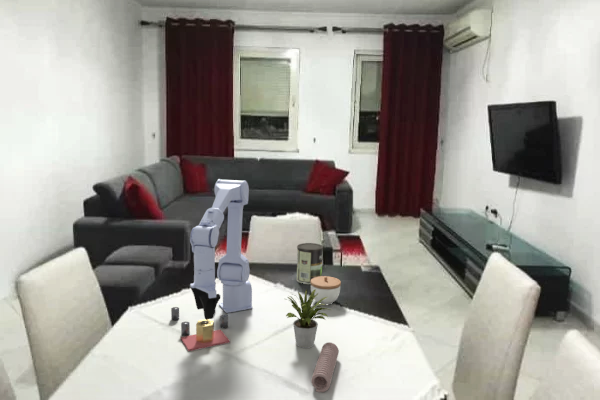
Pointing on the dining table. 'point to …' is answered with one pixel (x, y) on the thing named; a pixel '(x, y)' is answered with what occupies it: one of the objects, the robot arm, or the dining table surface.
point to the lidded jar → (326, 288)
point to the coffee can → (309, 262)
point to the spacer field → (186, 325)
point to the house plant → (306, 320)
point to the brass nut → (204, 331)
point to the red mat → (217, 340)
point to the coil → (325, 367)
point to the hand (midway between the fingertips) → (204, 313)
